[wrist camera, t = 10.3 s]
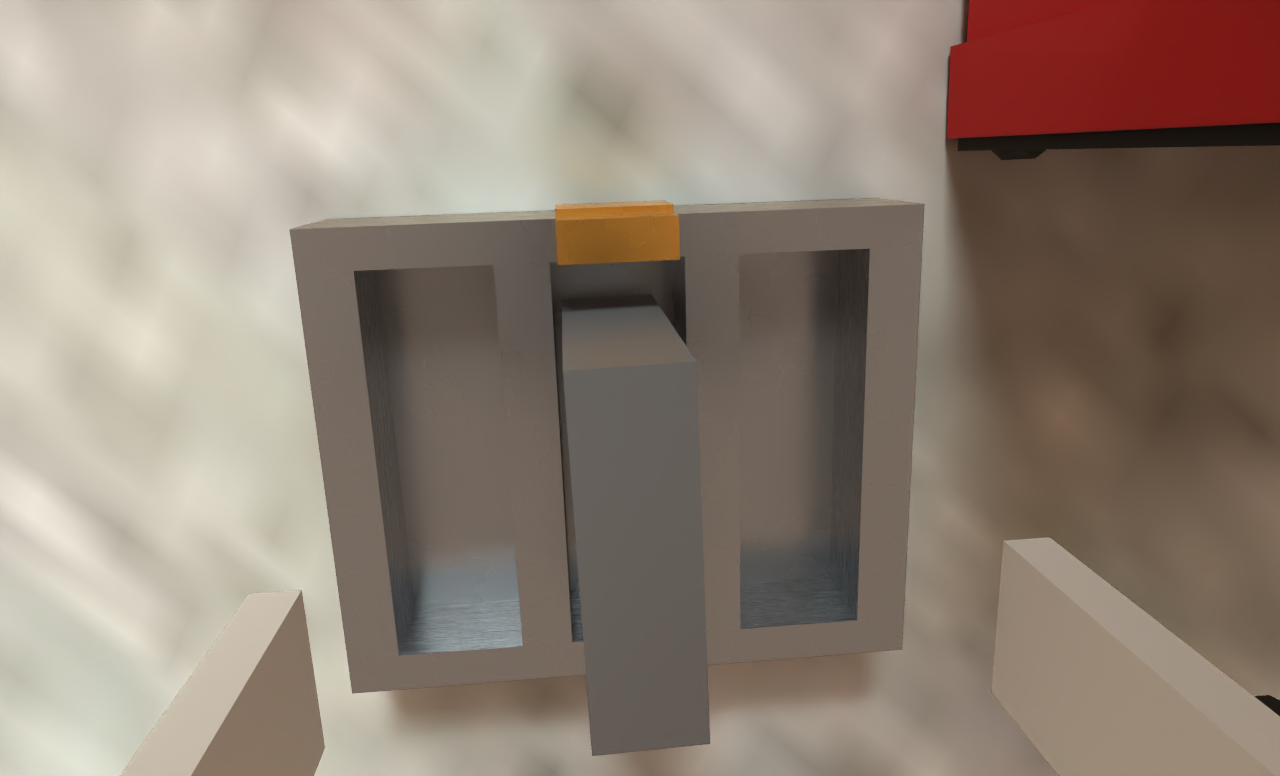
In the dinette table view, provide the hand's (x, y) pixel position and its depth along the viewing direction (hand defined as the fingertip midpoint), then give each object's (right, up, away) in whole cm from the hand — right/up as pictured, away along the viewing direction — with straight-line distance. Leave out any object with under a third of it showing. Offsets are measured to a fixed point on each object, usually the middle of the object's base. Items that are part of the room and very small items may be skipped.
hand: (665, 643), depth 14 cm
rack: (-1, +3, +11) cm, 12 cm away
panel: (-1, +3, +11) cm, 11 cm away
